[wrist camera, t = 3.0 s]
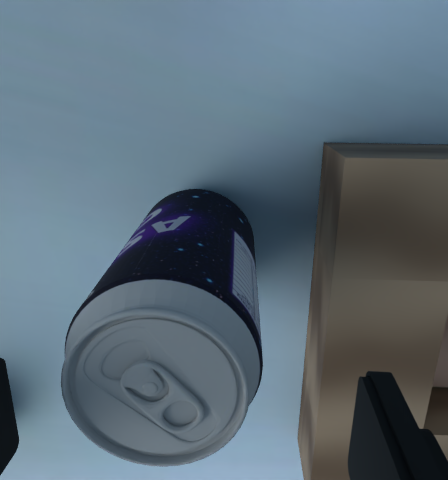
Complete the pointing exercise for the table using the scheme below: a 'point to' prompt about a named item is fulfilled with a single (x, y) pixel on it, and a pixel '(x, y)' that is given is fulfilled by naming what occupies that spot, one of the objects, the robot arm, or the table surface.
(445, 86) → the table surface
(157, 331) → the beverage can
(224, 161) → the table surface
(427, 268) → the holder block
